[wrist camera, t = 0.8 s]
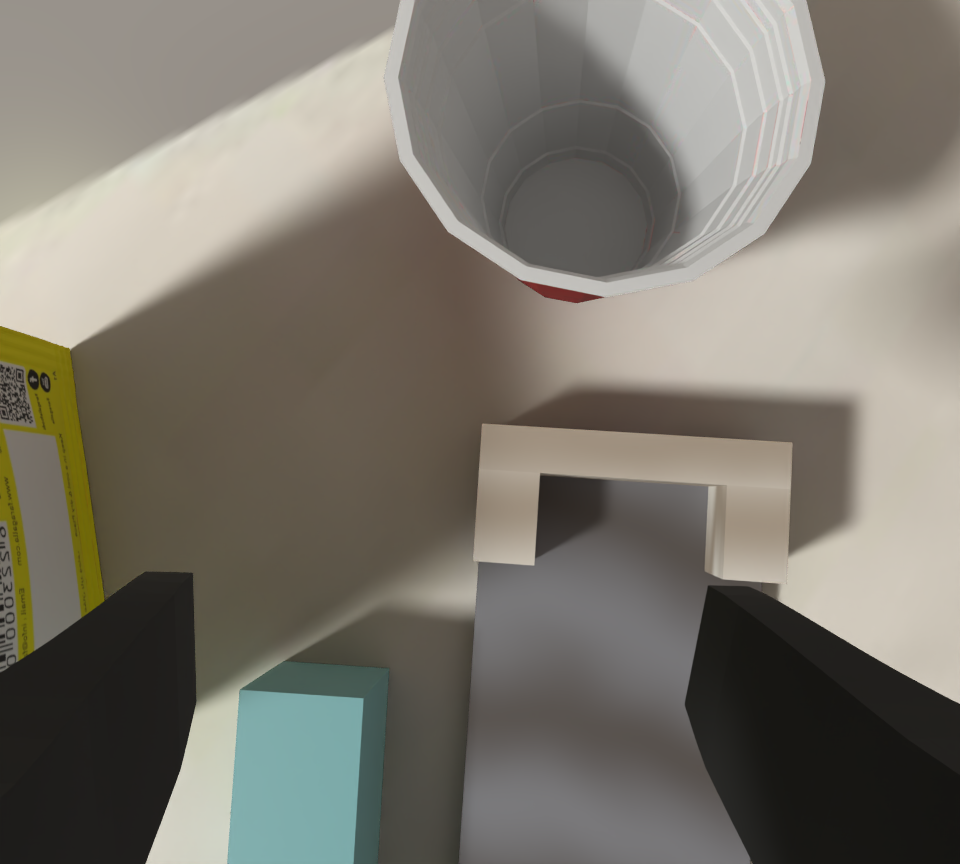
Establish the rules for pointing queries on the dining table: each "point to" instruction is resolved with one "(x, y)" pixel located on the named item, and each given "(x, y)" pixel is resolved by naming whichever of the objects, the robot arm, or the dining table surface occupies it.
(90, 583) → the food package
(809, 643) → the robot arm
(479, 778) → the cradle
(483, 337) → the dining table surface
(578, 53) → the plastic cup
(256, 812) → the slat
